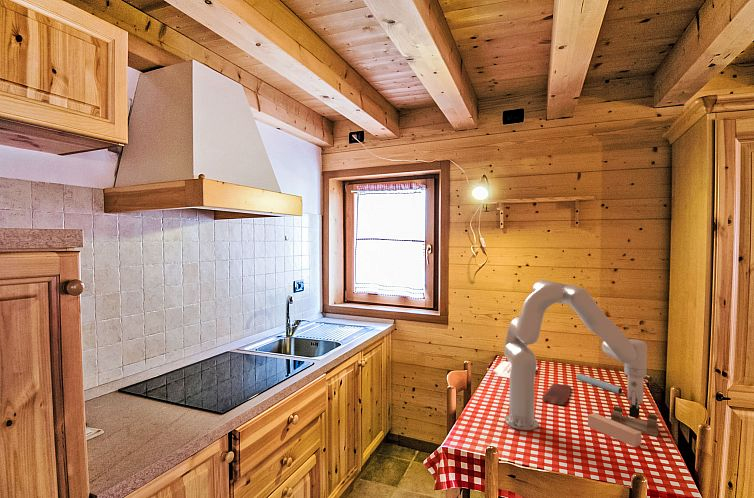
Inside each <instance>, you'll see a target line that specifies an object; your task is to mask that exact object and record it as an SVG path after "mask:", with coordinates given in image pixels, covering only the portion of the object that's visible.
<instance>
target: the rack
mask: <svg viewBox="0 0 754 498" xmlns="http://www.w3.org/2000/svg"><path fill="white" fill-rule="evenodd" d="M610 419H611V420H613V421H616V422H618V423H621V424H623V425H625V426H628V427H630V428H633V429H635V430H638V431H640V432H641V434H647V435H650V436H654V437H657V436H658V437H659V423H658V415H657V414H655V413H654V414H653V413H647V420H643V419H639V418H633V417H630V416H625V415H623V407H622V406H617V405H614V406H613V412H611V417H610Z"/></svg>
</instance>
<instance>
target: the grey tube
mask: <svg viewBox="0 0 754 498" xmlns="http://www.w3.org/2000/svg"><path fill="white" fill-rule="evenodd" d="M576 379H577V380H578V381H580V382H583V383H586V384H590V385H592V386H595V387H597V388H600V389H603V390H606V391H608V392H611V393H615V394H618V395H621V394H622V393H623V388H622V387H620V386H618V385H616V384H615V385H614V384H611V383H609V382H605V381H603V380H601V379H597V378H595V377H591V376H588V375H586V374H583V373H578V374H577V375H576Z"/></svg>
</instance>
